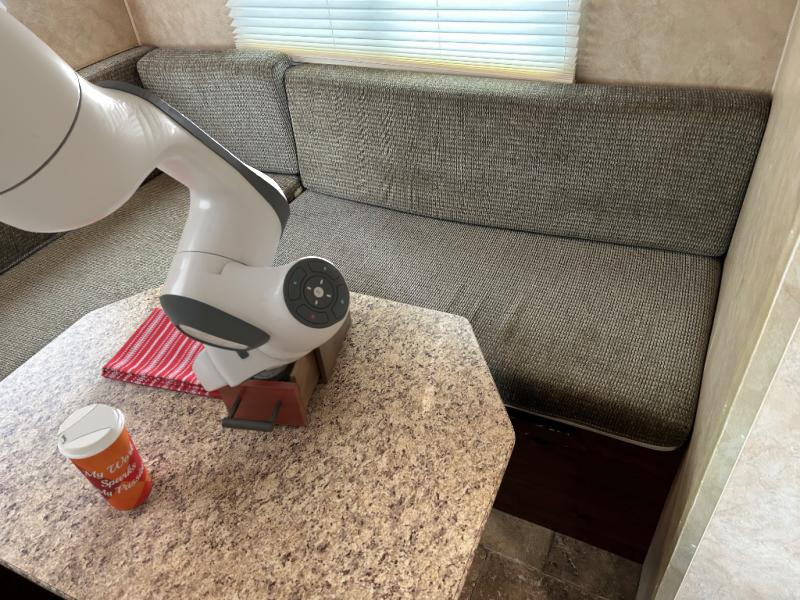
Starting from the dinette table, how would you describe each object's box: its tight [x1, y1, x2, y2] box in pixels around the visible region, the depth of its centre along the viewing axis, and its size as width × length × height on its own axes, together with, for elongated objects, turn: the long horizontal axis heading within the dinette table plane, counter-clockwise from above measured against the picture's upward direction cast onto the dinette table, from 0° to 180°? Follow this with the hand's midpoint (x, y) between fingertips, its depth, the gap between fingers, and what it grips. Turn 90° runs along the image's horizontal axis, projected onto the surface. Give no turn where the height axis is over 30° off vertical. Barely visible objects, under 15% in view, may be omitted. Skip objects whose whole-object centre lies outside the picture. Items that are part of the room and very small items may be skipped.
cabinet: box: [315, 309, 352, 384], centre depth 97 cm, size 15×13×10 cm
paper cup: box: [56, 403, 153, 511], centre depth 77 cm, size 8×8×14 cm
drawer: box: [218, 349, 321, 433], centre depth 87 cm, size 18×11×8 cm, turn 169°
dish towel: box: [100, 307, 223, 400], centre depth 100 cm, size 17×24×3 cm
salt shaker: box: [253, 364, 291, 382], centre depth 84 cm, size 6×6×12 cm
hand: (259, 346), depth 84 cm, fingers closed on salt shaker, 3 cm apart
